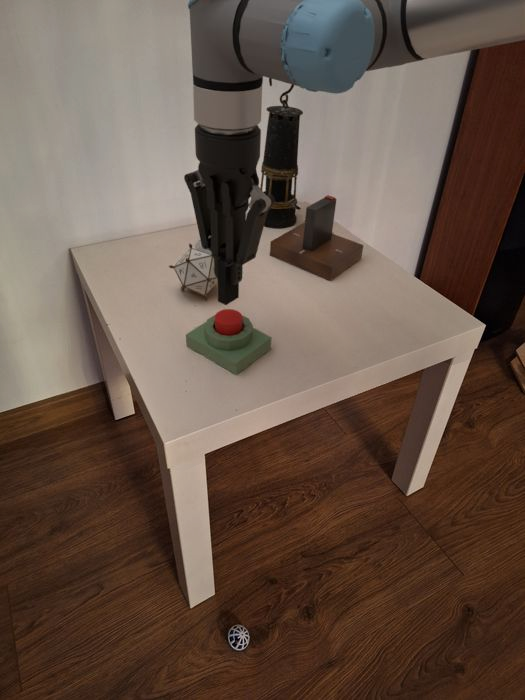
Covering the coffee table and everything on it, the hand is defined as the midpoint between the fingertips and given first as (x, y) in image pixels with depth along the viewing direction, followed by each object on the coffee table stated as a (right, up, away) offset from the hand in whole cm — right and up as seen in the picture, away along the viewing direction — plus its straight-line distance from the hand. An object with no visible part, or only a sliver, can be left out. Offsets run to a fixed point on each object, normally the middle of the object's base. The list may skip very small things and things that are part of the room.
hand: (228, 299), depth 75 cm
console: (+15, +11, +28) cm, 34 cm away
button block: (0, -7, +5) cm, 9 cm away
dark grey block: (+15, +13, +26) cm, 33 cm away
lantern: (+8, +21, +41) cm, 46 cm away
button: (0, -4, +3) cm, 5 cm away
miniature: (-4, +13, +30) cm, 33 cm away
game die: (-6, +3, +17) cm, 18 cm away
